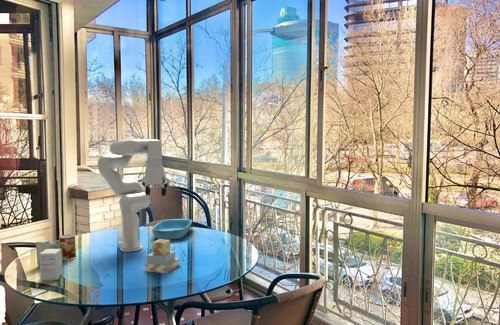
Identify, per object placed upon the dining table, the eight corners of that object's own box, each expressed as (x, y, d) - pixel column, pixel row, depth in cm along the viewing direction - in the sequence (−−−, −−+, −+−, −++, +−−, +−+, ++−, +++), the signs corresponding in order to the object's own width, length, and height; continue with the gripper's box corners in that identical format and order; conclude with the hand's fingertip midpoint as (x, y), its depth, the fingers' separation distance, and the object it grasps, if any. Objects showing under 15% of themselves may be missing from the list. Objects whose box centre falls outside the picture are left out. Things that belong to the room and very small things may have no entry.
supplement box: (47, 275, 188) (45, 248, 187) (63, 274, 188) (62, 248, 188) (40, 280, 180) (38, 253, 180) (57, 280, 181) (55, 252, 180)
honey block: (152, 254, 194) (152, 242, 193) (159, 250, 199) (159, 239, 199) (163, 255, 191) (163, 243, 191) (170, 252, 197) (169, 240, 196)
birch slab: (145, 271, 192) (145, 263, 192) (158, 264, 204) (158, 256, 203) (167, 274, 189) (167, 266, 188) (179, 266, 200) (179, 258, 200)
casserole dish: (163, 228, 281) (163, 218, 281) (194, 228, 281) (194, 217, 280) (147, 242, 245) (147, 230, 244) (184, 242, 244) (183, 230, 243)
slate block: (147, 263, 192) (146, 255, 192) (157, 257, 202) (156, 249, 201) (166, 265, 190) (165, 256, 189) (175, 258, 199) (175, 250, 199)
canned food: (69, 260, 209) (68, 238, 208) (56, 259, 211) (55, 237, 210) (79, 256, 217) (78, 234, 216) (66, 255, 218) (65, 233, 218)
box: (51, 265, 202) (50, 240, 202) (44, 267, 198) (43, 242, 197) (43, 264, 204) (42, 239, 203) (36, 266, 200) (35, 241, 199)
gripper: (136, 163, 210) (137, 195, 211) (165, 163, 205) (166, 196, 206) (144, 162, 217) (145, 193, 219) (172, 162, 212) (173, 194, 213)
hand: (155, 195), depth 212 cm, fingers open, 9 cm apart
